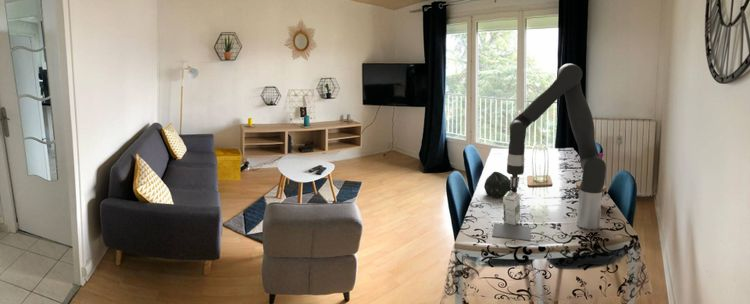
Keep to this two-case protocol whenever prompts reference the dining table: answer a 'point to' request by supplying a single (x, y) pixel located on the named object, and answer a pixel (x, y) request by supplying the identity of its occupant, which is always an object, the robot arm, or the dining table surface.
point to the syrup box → (511, 208)
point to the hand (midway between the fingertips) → (513, 198)
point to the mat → (511, 231)
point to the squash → (497, 185)
